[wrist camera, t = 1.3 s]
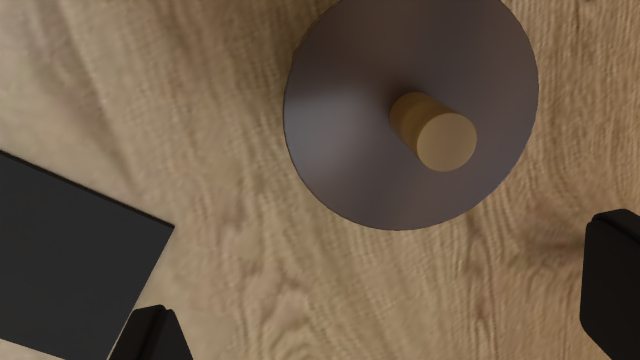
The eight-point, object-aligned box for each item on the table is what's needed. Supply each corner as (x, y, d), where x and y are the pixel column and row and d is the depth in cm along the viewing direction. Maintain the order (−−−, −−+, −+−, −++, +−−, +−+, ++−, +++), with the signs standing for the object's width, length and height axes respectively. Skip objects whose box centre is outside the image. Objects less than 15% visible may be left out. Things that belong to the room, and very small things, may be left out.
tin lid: (266, 206, 24) (262, 264, 19) (305, -54, 20) (316, -79, 14) (481, 233, 26) (534, 292, 21) (564, 4, 22) (662, 2, 16)
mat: (-127, 292, 33) (-133, 296, 32) (-78, 116, 28) (-84, 118, 28) (102, 366, 38) (100, 371, 37) (175, 226, 33) (173, 229, 33)
